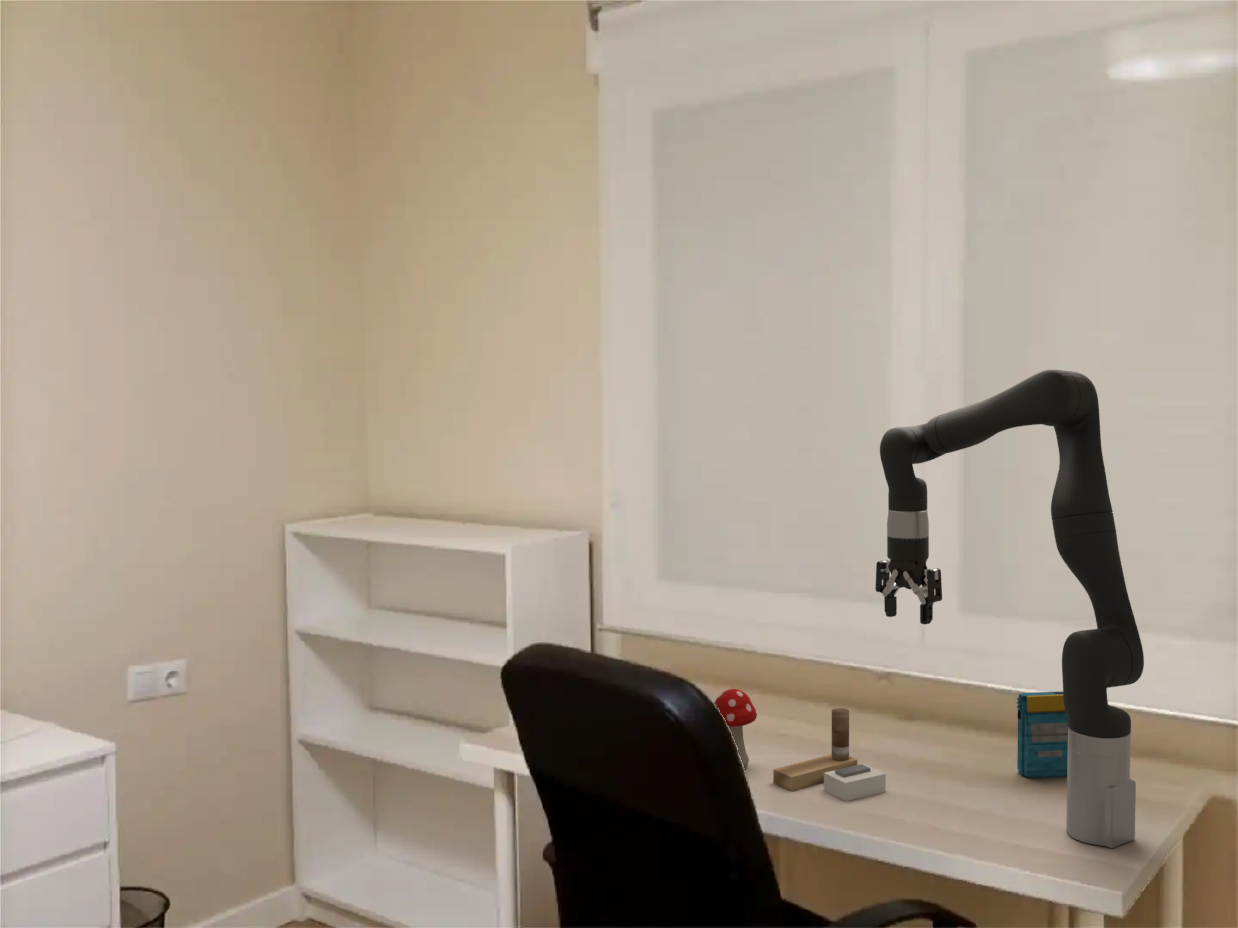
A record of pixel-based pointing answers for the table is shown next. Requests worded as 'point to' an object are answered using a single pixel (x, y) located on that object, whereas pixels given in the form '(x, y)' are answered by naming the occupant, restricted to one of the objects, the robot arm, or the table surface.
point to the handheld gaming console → (1042, 735)
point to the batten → (808, 772)
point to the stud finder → (854, 782)
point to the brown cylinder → (840, 734)
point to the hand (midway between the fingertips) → (908, 619)
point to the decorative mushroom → (737, 716)
